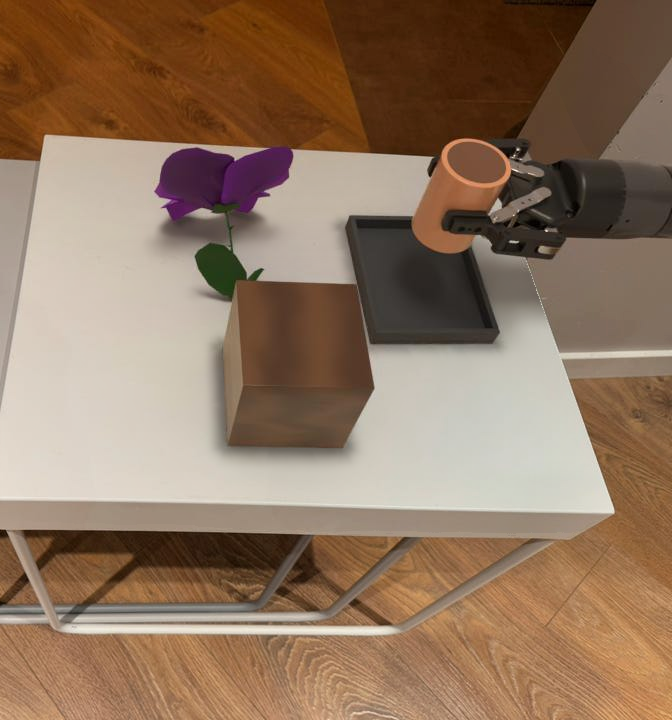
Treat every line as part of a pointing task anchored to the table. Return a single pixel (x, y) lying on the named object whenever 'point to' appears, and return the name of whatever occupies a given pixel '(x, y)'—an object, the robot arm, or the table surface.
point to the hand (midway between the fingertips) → (437, 193)
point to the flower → (220, 198)
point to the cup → (459, 191)
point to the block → (295, 364)
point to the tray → (417, 286)
